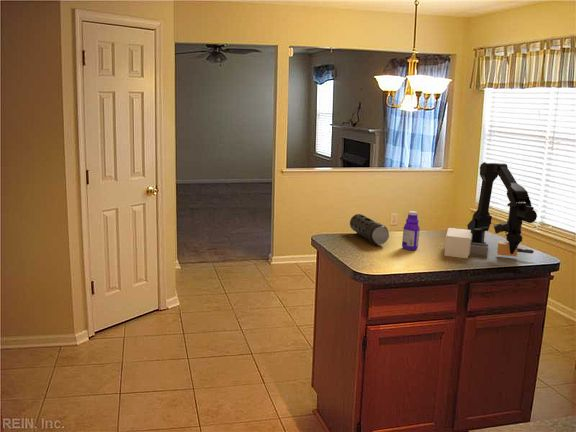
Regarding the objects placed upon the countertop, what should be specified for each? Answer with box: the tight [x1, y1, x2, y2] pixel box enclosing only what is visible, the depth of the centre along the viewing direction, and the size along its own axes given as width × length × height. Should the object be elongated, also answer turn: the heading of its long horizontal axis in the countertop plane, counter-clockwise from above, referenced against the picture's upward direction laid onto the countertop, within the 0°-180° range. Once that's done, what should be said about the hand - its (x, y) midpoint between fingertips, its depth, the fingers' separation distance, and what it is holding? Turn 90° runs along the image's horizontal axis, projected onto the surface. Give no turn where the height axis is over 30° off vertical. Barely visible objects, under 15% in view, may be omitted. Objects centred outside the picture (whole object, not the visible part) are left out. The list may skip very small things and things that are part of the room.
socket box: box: [444, 227, 489, 259], centre depth 264 cm, size 18×18×9 cm
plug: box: [496, 241, 535, 257], centre depth 258 cm, size 15×4×5 cm, turn 72°
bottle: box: [401, 210, 420, 251], centre depth 267 cm, size 7×6×17 cm
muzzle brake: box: [349, 213, 390, 245], centre depth 282 cm, size 10×28×10 cm, turn 15°
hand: (511, 252), depth 259 cm, fingers closed on plug, 4 cm apart
